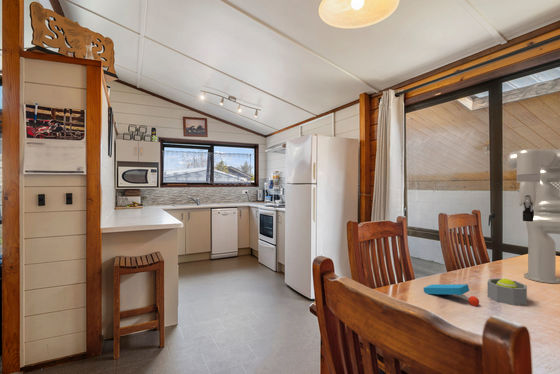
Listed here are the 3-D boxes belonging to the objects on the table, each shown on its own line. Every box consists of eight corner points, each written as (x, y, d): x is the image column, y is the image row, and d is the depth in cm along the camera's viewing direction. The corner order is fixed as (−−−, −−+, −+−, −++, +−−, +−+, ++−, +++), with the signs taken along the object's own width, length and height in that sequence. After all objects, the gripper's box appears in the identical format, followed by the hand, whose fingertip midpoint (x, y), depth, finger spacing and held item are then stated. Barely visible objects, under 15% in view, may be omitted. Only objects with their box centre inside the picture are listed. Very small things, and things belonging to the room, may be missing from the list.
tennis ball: (512, 301, 106) (512, 283, 106) (492, 295, 112) (492, 278, 112) (521, 297, 109) (521, 280, 109) (501, 292, 115) (501, 275, 115)
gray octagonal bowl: (490, 291, 119) (490, 276, 119) (527, 298, 111) (527, 283, 111) (486, 299, 110) (486, 283, 110) (526, 307, 102) (526, 291, 102)
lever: (427, 305, 116) (476, 308, 102) (423, 287, 117) (470, 288, 103) (436, 301, 120) (484, 303, 106) (431, 284, 121) (478, 284, 107)
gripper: (517, 179, 128) (518, 217, 128) (515, 179, 115) (515, 221, 115) (540, 178, 123) (540, 218, 123) (540, 178, 110) (540, 223, 110)
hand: (528, 219), depth 119 cm, fingers open, 9 cm apart
